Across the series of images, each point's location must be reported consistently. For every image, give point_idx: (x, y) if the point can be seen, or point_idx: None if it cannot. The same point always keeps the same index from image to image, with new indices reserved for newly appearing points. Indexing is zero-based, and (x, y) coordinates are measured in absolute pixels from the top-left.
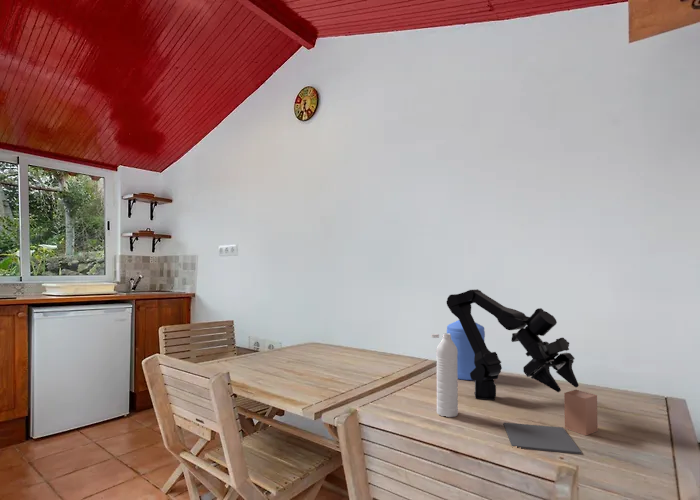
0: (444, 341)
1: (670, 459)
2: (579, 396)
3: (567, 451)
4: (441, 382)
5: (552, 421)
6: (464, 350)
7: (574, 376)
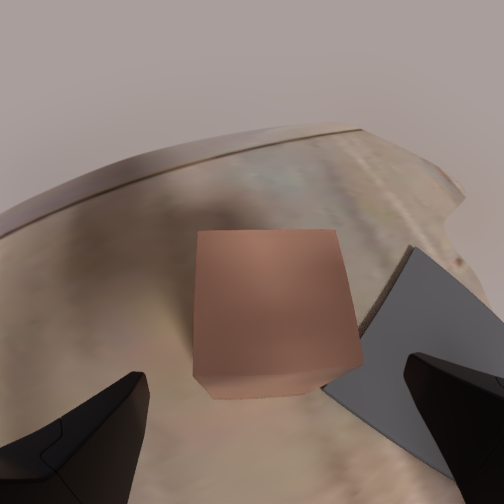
0: None
1: (242, 154)
2: (336, 265)
3: (439, 266)
4: None
5: (281, 465)
6: None
7: (87, 409)
